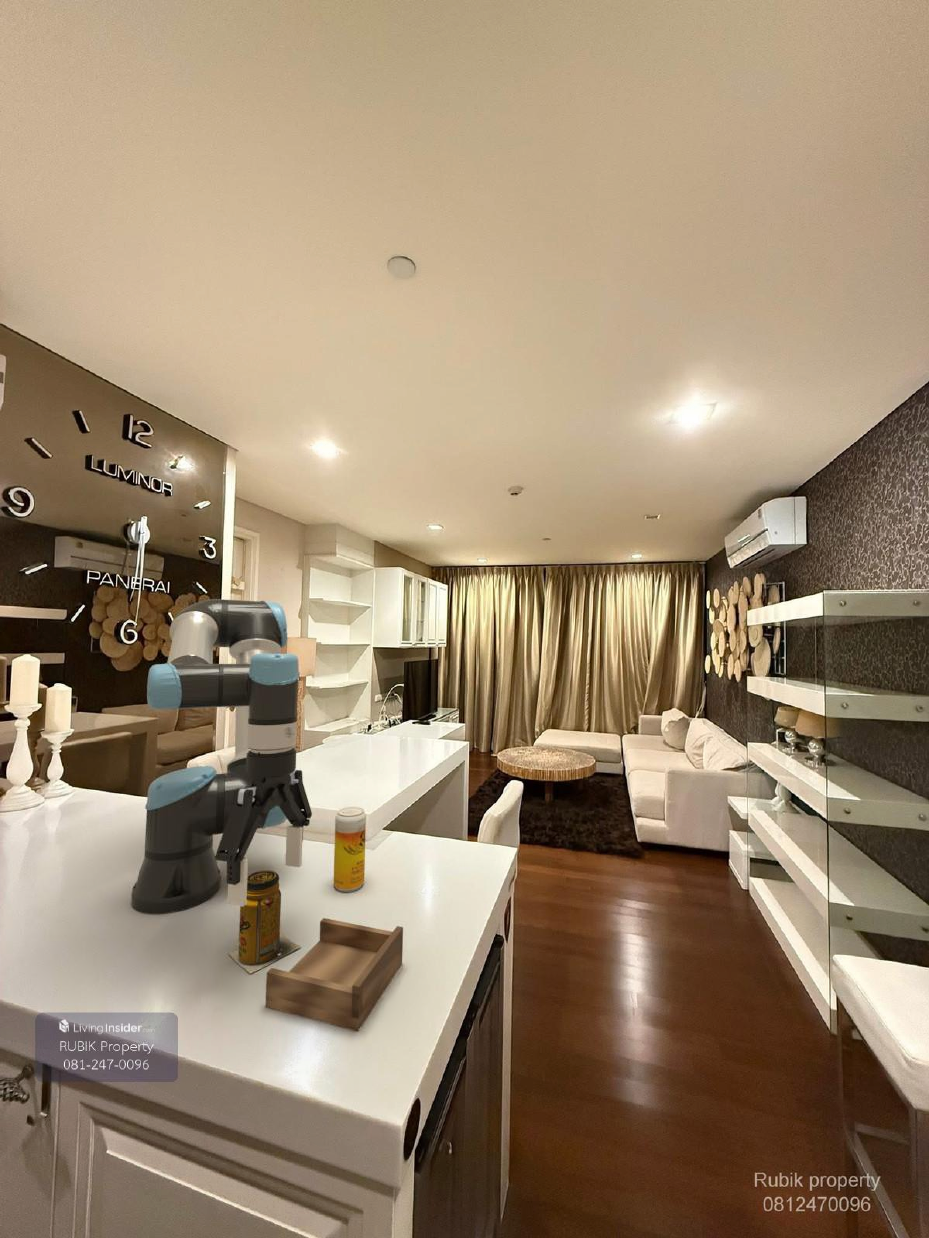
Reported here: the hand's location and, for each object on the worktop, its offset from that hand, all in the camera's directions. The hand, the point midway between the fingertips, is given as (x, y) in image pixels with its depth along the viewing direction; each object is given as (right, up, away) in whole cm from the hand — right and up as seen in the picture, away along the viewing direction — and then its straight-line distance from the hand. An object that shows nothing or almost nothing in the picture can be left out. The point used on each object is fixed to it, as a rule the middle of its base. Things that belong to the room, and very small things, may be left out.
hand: (267, 883), depth 79 cm
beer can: (+8, -12, +21) cm, 26 cm away
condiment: (0, -11, 0) cm, 11 cm away
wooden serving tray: (+13, -11, -7) cm, 18 cm away
